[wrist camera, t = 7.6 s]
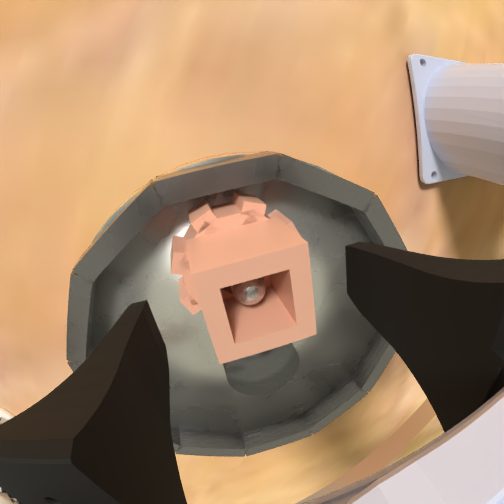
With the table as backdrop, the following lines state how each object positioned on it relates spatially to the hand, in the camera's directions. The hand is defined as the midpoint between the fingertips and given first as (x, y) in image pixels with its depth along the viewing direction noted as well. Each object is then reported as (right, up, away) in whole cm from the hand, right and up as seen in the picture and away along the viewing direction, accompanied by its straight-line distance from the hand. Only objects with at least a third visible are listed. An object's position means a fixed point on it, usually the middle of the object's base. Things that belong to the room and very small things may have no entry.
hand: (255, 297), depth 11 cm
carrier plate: (0, -3, +7) cm, 7 cm away
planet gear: (-1, +2, +4) cm, 4 cm away
